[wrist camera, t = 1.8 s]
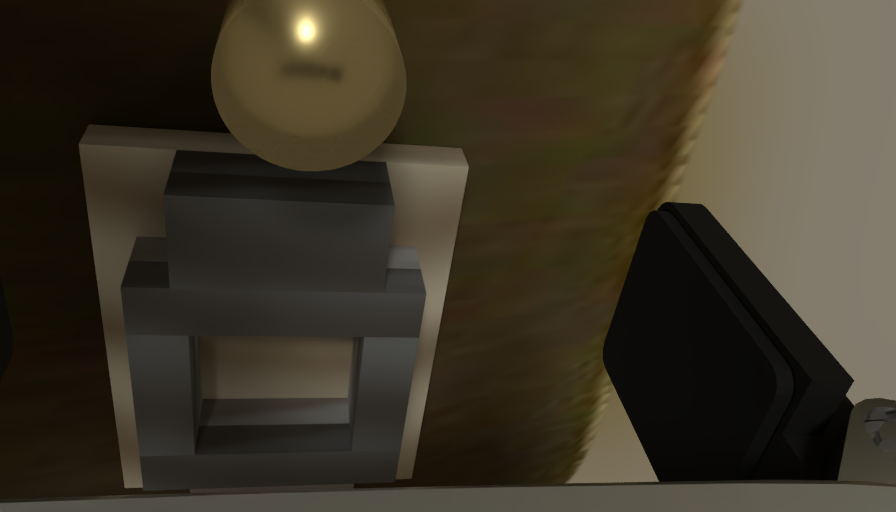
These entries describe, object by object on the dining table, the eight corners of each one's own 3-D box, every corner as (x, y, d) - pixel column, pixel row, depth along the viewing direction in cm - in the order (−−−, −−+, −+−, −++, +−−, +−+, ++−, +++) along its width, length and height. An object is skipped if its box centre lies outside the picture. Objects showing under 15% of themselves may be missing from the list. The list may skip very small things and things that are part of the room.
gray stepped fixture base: (89, 124, 26) (54, 190, 22) (461, 148, 28) (485, 210, 25) (130, 461, 35) (111, 547, 31) (408, 454, 38) (419, 532, 34)
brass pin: (240, -114, 22) (208, -23, 14) (376, -95, 23) (417, -1, 15) (241, 21, 24) (212, 166, 16) (364, 32, 25) (395, 176, 17)
